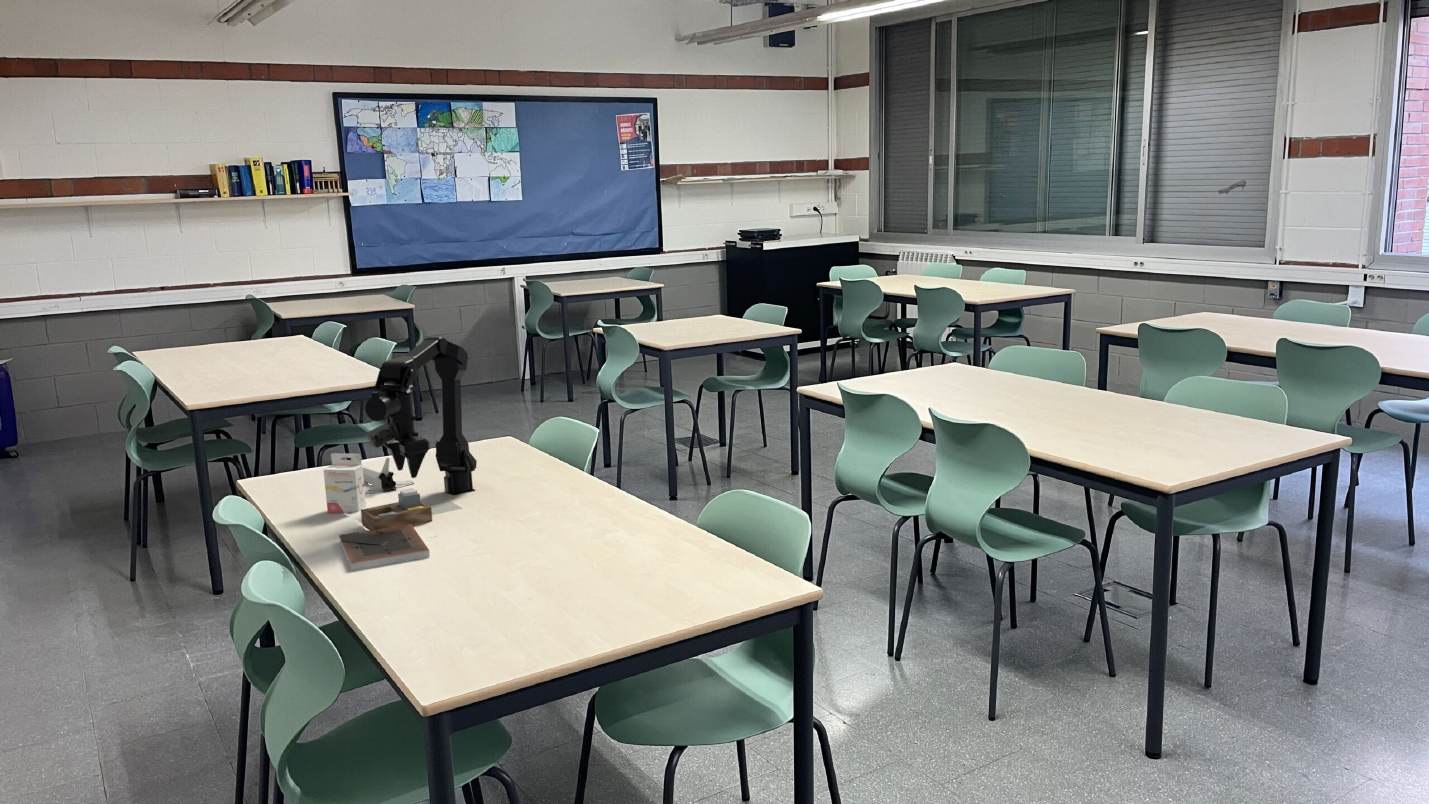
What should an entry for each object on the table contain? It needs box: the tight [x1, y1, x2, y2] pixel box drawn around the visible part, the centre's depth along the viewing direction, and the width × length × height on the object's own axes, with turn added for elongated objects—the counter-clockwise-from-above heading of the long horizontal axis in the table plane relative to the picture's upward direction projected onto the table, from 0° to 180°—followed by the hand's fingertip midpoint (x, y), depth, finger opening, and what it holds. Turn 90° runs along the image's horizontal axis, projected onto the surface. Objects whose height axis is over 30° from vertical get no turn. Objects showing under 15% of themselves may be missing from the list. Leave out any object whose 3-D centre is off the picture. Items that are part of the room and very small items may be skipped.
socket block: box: [360, 500, 433, 531], centre depth 250 cm, size 14×10×4 cm
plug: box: [397, 487, 421, 510], centre depth 252 cm, size 4×4×7 cm
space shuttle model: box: [363, 457, 414, 495], centre depth 288 cm, size 16×25×10 cm, turn 39°
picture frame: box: [338, 524, 431, 572], centre depth 233 cm, size 16×2×22 cm
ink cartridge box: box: [323, 453, 367, 514], centre depth 261 cm, size 9×5×15 cm, turn 84°
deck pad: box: [429, 501, 463, 516], centre depth 261 cm, size 8×8×1 cm
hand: (406, 473), depth 251 cm, fingers open, 9 cm apart
